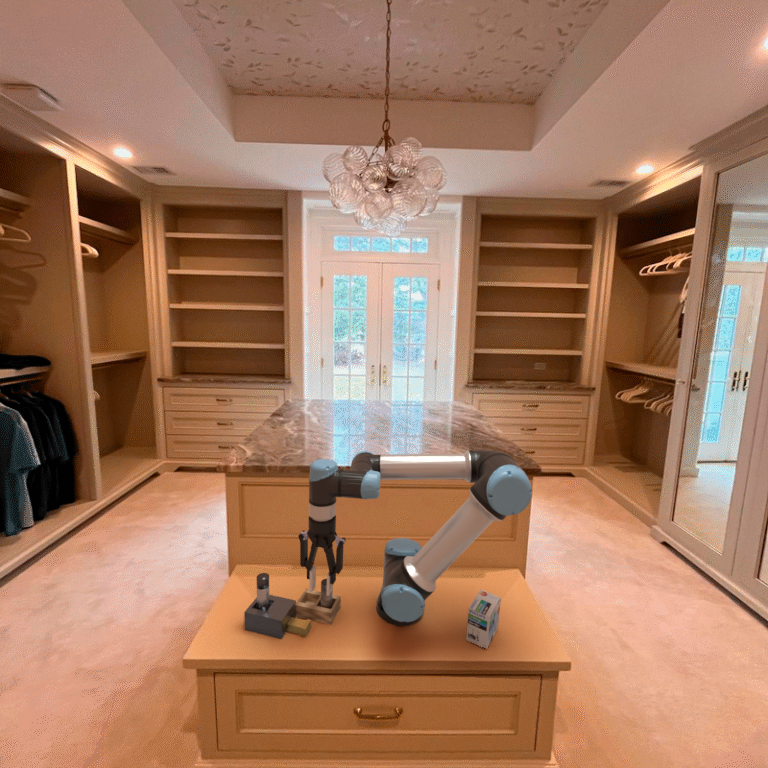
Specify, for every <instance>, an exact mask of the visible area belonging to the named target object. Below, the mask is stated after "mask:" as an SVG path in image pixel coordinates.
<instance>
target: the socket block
mask: <svg viewBox="0 0 768 768" xmlns="http://www.w3.org/2000/svg"><path fill="white" fill-rule="evenodd" d="M296 603H297V600H294V599H290V598H287V597H281V596H277V595H274V594H269V609H268V610H267V611H262V610H258V609H257V597H256V598H255V599H254V600H253V601H252V602H251V604H249V605H248V607H247V608H246V610H245V611H244V613H243V614H244V631H247V632H251V633H256V634H259V635H264V636H267V637H271V638H275V639H277V640H283V638H284V637H285V635H286V631H285V625H286V623H287V622H288V620H289V619H290V617H293V618H297V617H296Z"/></svg>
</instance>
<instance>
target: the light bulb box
mask: <svg viewBox="0 0 768 768" xmlns="http://www.w3.org/2000/svg"><path fill="white" fill-rule="evenodd" d="M501 602H502V597H500V596H497V595H495V594H493V593H491V592H488V591H485V590H484V589H480V590H479V591H478V593H477V595H476V596H475V597H474V599H473V600H472V602H471V604H470V605H469V607H468V612H467V615H468V616H467V626H466V636H465V637H466V638H465V640H466V641H467V642H469V643H471V642H472V643H471V644H473V643H475V644H477V645H479V646H478V647H480V646H482V647H484V648H488V646H489V645H490V646H491V644H490V643H492V642H491V641H493V640H494V638H495V636H496V634H497V632H498V630H499V622H500V621H499V620H500V613H501V611H500V610H501ZM497 629H498V630H497ZM496 631H497V632H496ZM495 633H496V634H495ZM494 635H495V636H494ZM493 637H494V638H493ZM492 639H493V640H492ZM475 644H474V645H475ZM477 645H476V646H477ZM490 646H489V647H490ZM482 647H481V648H482ZM484 648H483V649H484ZM488 649H489V648H488Z"/></svg>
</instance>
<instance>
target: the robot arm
mask: <svg viewBox="0 0 768 768" xmlns="http://www.w3.org/2000/svg"><path fill="white" fill-rule="evenodd" d="M382 480H388V481H389V480H392V481H393V480H465V481H466V482H467V483H470V484H471V483H472V486H471V487H469V496H468V498H467V499H466V501H465V502H464V503H463V504H461V506H460V507H459V508H457V510H456V511H455V512H454V513H453V514H452V515H451V516H450V517H449V519H448V520H446V522H444V524H443V525H442V526H441V527H440V528H439V529H438V530H437V531H436V532H435V533H434V535H432V537H431V538H430V539H429V540H428V541H427V542H426V543H425V544H424V545H423V546H421V544H420V543H419V542H418V541H416V540H413V539H410V538H403V537H400V538H393V539H390V540H388V541H387V542H386V543H385V546H384V550H383V551H384V558H383V559H384V560H383V575H382V587H381V589H380V591H379V594H378V597H377V600H376V612H377V615H378V616H379V618H380V619H381V620H383V621H384V622H385V623H388V624H390V625H393V626H398V627H408V626H411V625H414V624H417V622H419V621H420V620H422V618H423V616H424V610H425V607H426V601H427V599H428V598H429V597H430V596H431V595H432V594H433V593H434V592H435V591H436V588H437V582H436V581H437V580H438V579H439V578H440V577H441V576H442V575H443V574H444V573H445V572H446V570H448V569H449V568H450V567H451V565H453V564H454V563H455V561H456V560H457V559H458V558H459V557H460V556H462V555H463V553H464V552H466V550H467V549H468V548H469V547H470V546H471V545H472V544H473V543H474V541H475V540H477V538H479V537H480V536H481V534H483V532H484V531H485V530H486V529H487V528H488V527H489V526H490V525H491V524H492V523H493V522H502V521H504V520H505V519H506V517H508V516H509V517H510V516H513V515H514V516H516V515H518V514H521V513H522V512H523V511H525V510H526V509H527V508H528V506H529V505H530V502H531V501H532V496H533V487H532V484H531V481H530V479H529V476H528V475H527V473H526V472H525V471H524V470H523V469H522V467H521V466H520V465H519V464H518V462H517V461H516V460H515V458H513V456H511V455H510V454H508V453H506V452H504V451H501V450H494V449H493V450H492V449H468V450H465V451H464V453H417V454H416V453H411V454H409V453H406V454H399V453H398V454H374V453H373V452H371V451H368V450H361V451H358V452H357V453H356V454H355V455H354V457H353V459H352V460H351V465H350V468H349V469H345V468H339V467H338V463H337V462H336V461H335V460H333V459H328V458H321V459H316V460H314V461H312V462H311V463H310V466H309V476H308V530H301V532H300V533H299V534H298V536H297V537H298V539H299V546H300V548H299V551H300V552H299V554H300V557H299V558H300V559H299V563H300V567H302V568H305V569H306V579H307V580H309V586H308V587H309V588H308V589H309V592H312V591H313V590H314V591H315V588H316V587H317V585H316V583H317V582H316V581H317V566H316V565H315V560H316V557H317V552H318V549H319V548H322V549H323V552H324V553H325V557H326V562H327V568H328V572H327V574H326V579H327V596H329V595H330V593H331V592H332V590H333V591H334V588H333V586H334V584H335V582H336V581H337V575H339V574H340V573H341V571H342V570H343V567H344V545H345V543H346V541H347V539H346V538H345V537H340V536H338V534H337V532H336V529H337V528H336V527H337V515H336V514H337V498H346V499H347V498H348V499H349V498H350V499H360V500H376V499H378V498H379V497H380V494H381V481H382ZM473 483H474V484H473ZM308 539H309V540H310V542H311V546H310V551H309V540H308ZM334 542H335V546H336V550H335V551H336V552H335V553H336V554H334V548H333V547H334V545H333V543H334Z"/></svg>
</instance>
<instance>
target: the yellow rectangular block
mask: <svg viewBox="0 0 768 768" xmlns="http://www.w3.org/2000/svg"><path fill="white" fill-rule="evenodd" d="M311 628H312V620H310V619H303V618H298V617H296V618H293V617H290V619H289V620H288V622H287V623H286V625H285V632H288V633H292V634H296V635H300V637H303V638H306V637H307V635H308V634H309V632H310V630H311Z"/></svg>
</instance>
